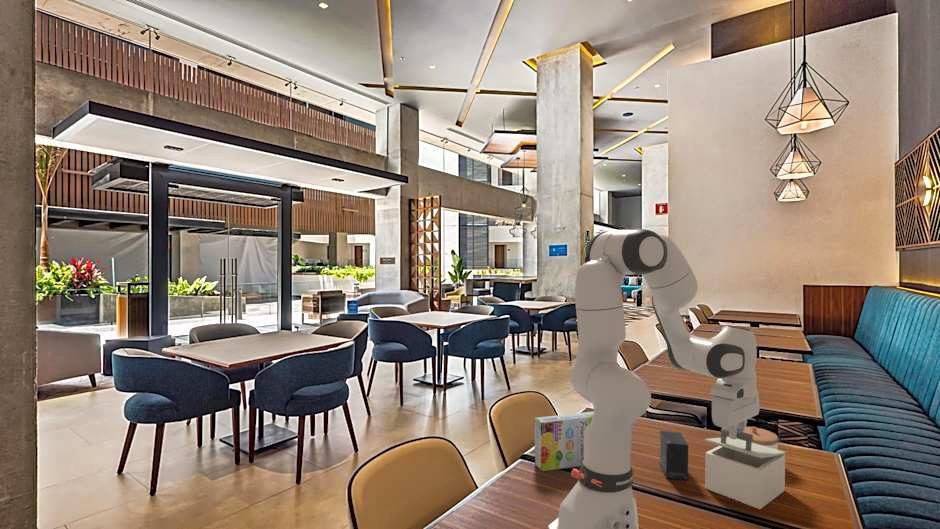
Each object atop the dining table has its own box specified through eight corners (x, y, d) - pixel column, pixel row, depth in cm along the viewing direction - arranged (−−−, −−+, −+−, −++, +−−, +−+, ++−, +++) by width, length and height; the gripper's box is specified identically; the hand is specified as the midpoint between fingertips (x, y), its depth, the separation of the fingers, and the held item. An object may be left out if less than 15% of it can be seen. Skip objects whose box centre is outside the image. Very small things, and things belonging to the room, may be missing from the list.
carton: (759, 509, 122) (760, 470, 122) (705, 488, 133) (705, 452, 133) (784, 490, 131) (785, 454, 131) (731, 472, 143) (731, 439, 142)
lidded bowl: (783, 473, 142) (783, 436, 141) (735, 467, 146) (735, 432, 146) (771, 456, 154) (772, 422, 153) (728, 451, 158) (728, 418, 157)
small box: (689, 480, 138) (689, 444, 137) (665, 478, 139) (665, 443, 139) (681, 465, 148) (681, 431, 148) (658, 463, 149) (658, 430, 149)
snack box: (595, 456, 154) (594, 410, 154) (604, 464, 149) (604, 416, 149) (534, 464, 149) (533, 416, 149) (541, 472, 144) (541, 422, 143)
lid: (761, 458, 121) (762, 439, 122) (704, 441, 133) (706, 423, 133) (785, 454, 131) (787, 436, 132) (731, 438, 142) (732, 422, 143)
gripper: (742, 377, 138) (741, 425, 138) (707, 389, 125) (706, 441, 125) (766, 382, 133) (765, 432, 133) (732, 394, 120) (731, 449, 120)
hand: (736, 436), depth 129 cm, fingers open, 2 cm apart
